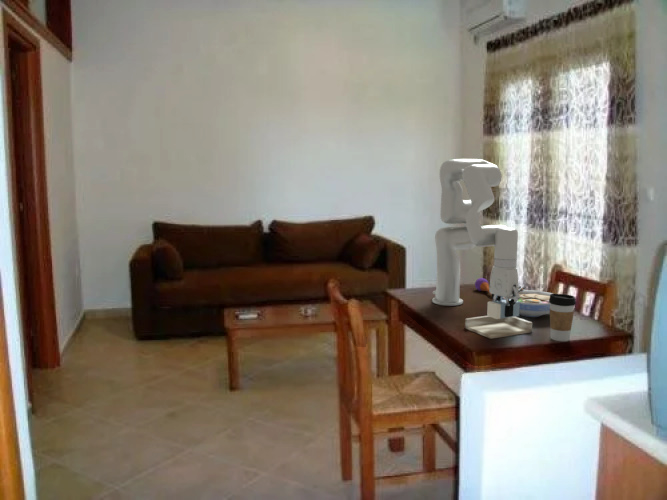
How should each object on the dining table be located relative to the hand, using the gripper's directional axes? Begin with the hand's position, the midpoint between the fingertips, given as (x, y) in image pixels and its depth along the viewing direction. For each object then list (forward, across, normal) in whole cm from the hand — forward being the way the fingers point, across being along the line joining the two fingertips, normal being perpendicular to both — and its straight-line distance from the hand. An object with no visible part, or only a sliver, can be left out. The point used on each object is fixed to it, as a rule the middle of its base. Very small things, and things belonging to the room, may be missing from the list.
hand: (503, 314), depth 218 cm
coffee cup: (+6, +16, +10) cm, 20 cm away
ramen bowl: (+6, -12, +24) cm, 27 cm away
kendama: (+6, -47, +32) cm, 57 cm away
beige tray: (+6, -1, -2) cm, 6 cm away
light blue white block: (+1, 0, 0) cm, 1 cm away
